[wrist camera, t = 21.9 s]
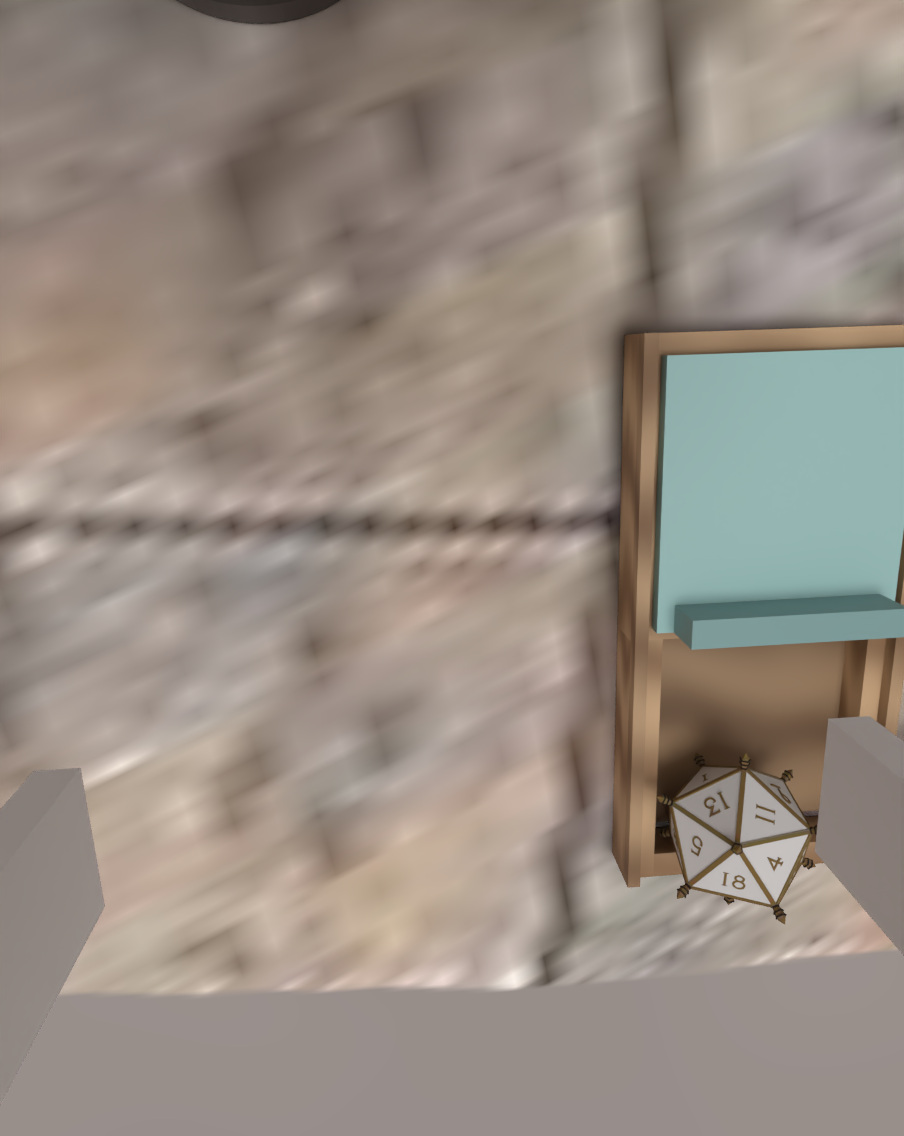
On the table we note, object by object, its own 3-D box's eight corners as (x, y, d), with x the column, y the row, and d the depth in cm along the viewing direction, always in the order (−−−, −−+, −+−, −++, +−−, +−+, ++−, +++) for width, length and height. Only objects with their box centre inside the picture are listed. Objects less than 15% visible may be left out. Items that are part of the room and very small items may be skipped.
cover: (661, 355, 38) (686, 355, 34) (915, 346, 38) (962, 345, 35) (652, 628, 41) (673, 650, 38) (883, 615, 42) (923, 636, 39)
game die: (774, 690, 43) (886, 866, 36) (761, 760, 49) (854, 920, 42) (619, 743, 43) (702, 928, 36) (627, 806, 49) (698, 973, 42)
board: (624, 335, 40) (644, 333, 37) (905, 325, 41) (949, 323, 38) (612, 852, 48) (627, 887, 45) (847, 834, 49) (879, 867, 46)
